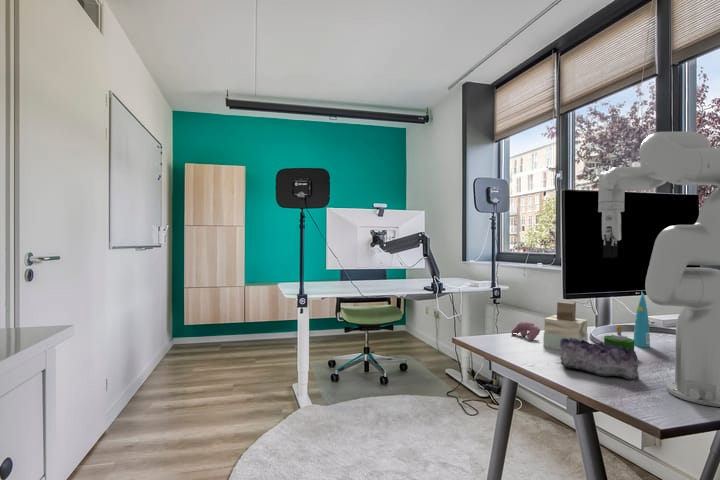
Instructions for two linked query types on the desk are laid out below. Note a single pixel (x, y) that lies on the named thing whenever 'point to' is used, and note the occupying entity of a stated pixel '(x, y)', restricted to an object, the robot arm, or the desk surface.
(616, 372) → the geode
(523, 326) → the pink animal figurine
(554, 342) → the tower base
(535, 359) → the desk surface
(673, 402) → the desk surface
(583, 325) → the cream wooden block
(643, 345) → the tube
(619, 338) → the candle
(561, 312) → the walnut block
